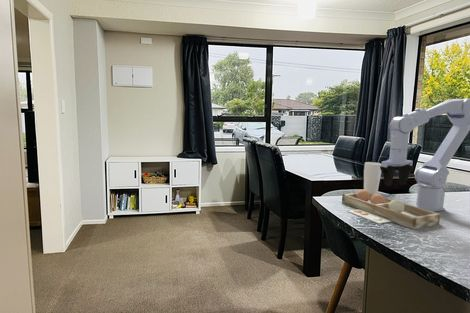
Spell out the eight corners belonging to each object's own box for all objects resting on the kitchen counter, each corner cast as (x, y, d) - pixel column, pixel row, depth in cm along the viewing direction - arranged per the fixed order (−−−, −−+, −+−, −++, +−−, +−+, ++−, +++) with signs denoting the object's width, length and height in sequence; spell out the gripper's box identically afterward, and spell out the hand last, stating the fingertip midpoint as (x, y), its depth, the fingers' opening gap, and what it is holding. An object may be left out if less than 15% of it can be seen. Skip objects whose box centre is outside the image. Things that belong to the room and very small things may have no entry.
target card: (359, 209, 121) (359, 208, 120) (391, 221, 108) (391, 220, 108) (347, 211, 118) (347, 210, 118) (378, 223, 105) (379, 222, 105)
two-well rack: (365, 200, 135) (366, 191, 134) (439, 224, 107) (440, 214, 107) (341, 202, 129) (342, 194, 129) (413, 229, 102) (414, 218, 101)
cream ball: (394, 210, 118) (395, 197, 117) (406, 214, 113) (408, 200, 113) (384, 211, 116) (386, 198, 115) (397, 216, 111) (398, 202, 111)
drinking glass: (380, 200, 135) (383, 165, 133) (363, 198, 137) (366, 163, 135) (376, 196, 142) (379, 162, 140) (360, 194, 143) (363, 161, 141)
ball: (362, 199, 131) (363, 187, 130) (372, 203, 127) (373, 190, 126) (353, 200, 129) (354, 188, 128) (363, 204, 125) (364, 191, 124)
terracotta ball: (376, 204, 125) (377, 191, 124) (387, 208, 120) (388, 195, 120) (367, 205, 123) (368, 192, 122) (378, 209, 118) (379, 196, 118)
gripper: (402, 147, 126) (398, 181, 128) (375, 148, 120) (372, 184, 122) (419, 149, 120) (415, 185, 122) (392, 150, 114) (388, 188, 115)
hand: (395, 185), depth 121 cm, fingers open, 7 cm apart
